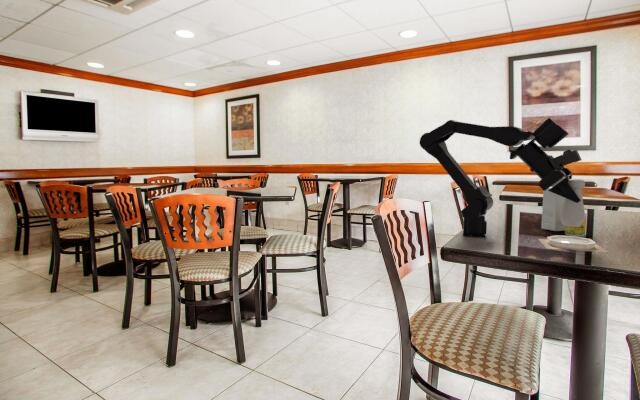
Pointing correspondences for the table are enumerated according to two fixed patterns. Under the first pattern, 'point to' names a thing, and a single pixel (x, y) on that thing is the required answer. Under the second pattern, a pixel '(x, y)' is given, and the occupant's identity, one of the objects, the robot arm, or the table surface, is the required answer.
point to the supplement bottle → (576, 229)
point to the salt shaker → (573, 206)
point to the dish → (571, 242)
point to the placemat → (545, 243)
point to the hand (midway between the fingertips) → (579, 201)
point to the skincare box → (552, 211)
